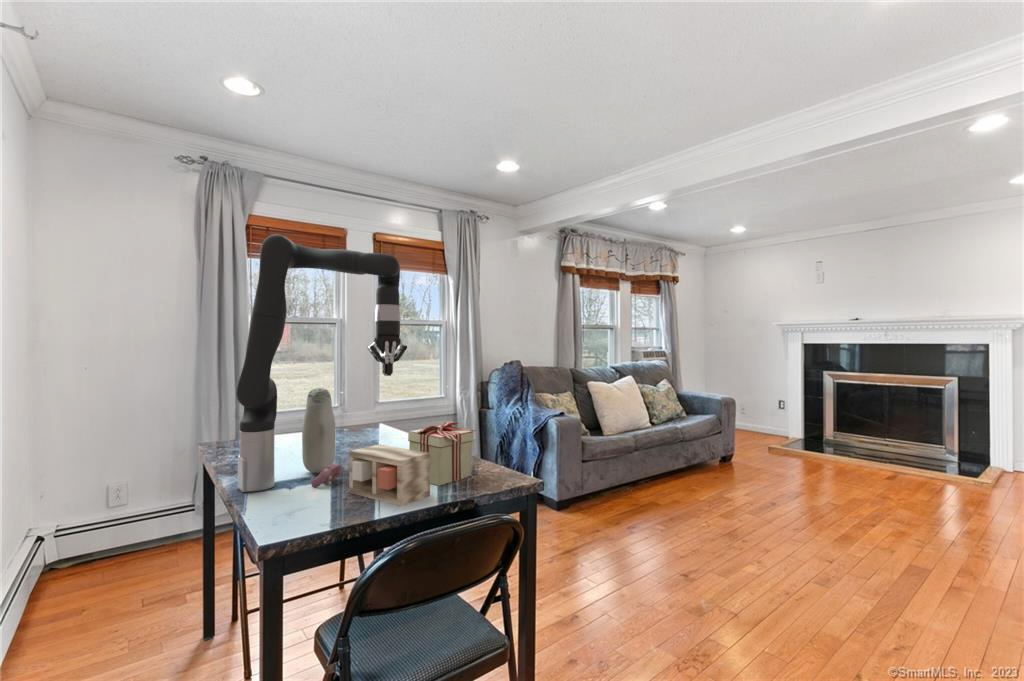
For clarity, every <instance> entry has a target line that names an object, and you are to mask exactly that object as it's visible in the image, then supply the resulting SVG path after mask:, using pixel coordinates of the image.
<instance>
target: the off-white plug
mask: <svg viewBox="0 0 1024 681" xmlns="http://www.w3.org/2000/svg"><path fill="white" fill-rule="evenodd" d="M352 479H353V480H358V481H365V480H369V479H372V461H371V460H366V459H361V460H357V461H353V462H352Z"/></svg>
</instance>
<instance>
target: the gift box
mask: <svg viewBox="0 0 1024 681" xmlns="http://www.w3.org/2000/svg"><path fill="white" fill-rule="evenodd" d="M453 425H459V422H455V421H446V422H443V423H441V425H438V426H436V425H430V426H428V427H426V428H420V429H415V430H409V431H408V435H407V437H408V438H407V441H408V442H409V446H408V447H409V448H408V449H409V450H415V451H421V452H427V453H430V483H431V484H430V485H435V486H437V485H438V487H441V485H442V486H444V484H445V485H447V484H446V483H448V484H450V483H449V482H452V483H454V482H453V481H455V482H457V481H456V480H458V481H460V480H459V479H461V478H464V477H467V476H471V477H472V451H473V450H472V448H473V447H472V446H473V441H474V432H477V429H476V430H475V429H469V428H465V427H464V428H463V427H455V426H453ZM461 480H462V479H461Z"/></svg>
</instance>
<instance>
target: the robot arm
mask: <svg viewBox="0 0 1024 681" xmlns="http://www.w3.org/2000/svg"><path fill="white" fill-rule="evenodd" d="M400 266H401V265H400V263H399V261H398V260H397V258H396V257H395V256H393V255H392V254H390V253H389V254H388V253H381V252H362V251H357V250H351V249H350V250H349V249H341V248H340V249H338V248H336V249H335V248H327V249H326V248H323V249H322V248H315V247H309V246H305V245H301V244H298V243H295V242H293V240H291V239H289V238H288V237H286V236H285V235H283V234H282V235H281V234H278V233H277V234H276V233H274V234H270V235H269V236H267V237H266V238H265V239H264V240H263V242H262V244H261V246H260V252H259V270H258V271H259V272H258V281H257V285H256V290H255V296H254V301H253V306H252V309H251V310H252V311H251V314H250V315H251V316H250V321H249V329H248V335H247V336H248V337H247V341H246V349H245V350H246V351H245V358H244V362H243V367H242V370H241V372H240V376H239V379H238V383H237V386H236V392H235V393H236V397H237V398H236V399H237V401H238V402H239V404H240V405H241V406H242V407H243V413H242V417H241V419H240V422H239V455H238V456H237V488H238V490H240V491H241V492H242V493H247V492H258V491H265V490H268V489H271V488H272V487H273V488H274V486H275V480H276V479H275V433H276V432H275V424H276V419H277V414H278V413H277V410H278V409H277V408H278V389H277V384H276V382H275V380H273V379H272V378H271V370H272V365H273V360H274V358H275V355H276V353H277V351H278V348H279V346H280V344H281V341H282V338H283V336H284V331H285V326H286V319H287V311H288V308H287V299H286V280H287V279H286V278H287V274H288V270H289V269H315V270H324V271H331V272H338V273H345V274H350V275H359V276H360V275H361V276H362V275H373V276H377V289H376V290H375V291H376V292H375V294H376V295H375V312H374V314H375V315H374V316H375V317H374V334H375V337H374V339H373V342H372V344H370V345H367V350H368V351H369V353H370V354H371V355H372V357H373V358H374V360H375V361H376V362H379V363H381V366H382V370H381V371H382V374H383V375H384V376H386V377H390V376H392V374H393V373H394V363H396V362H399V360H400V359H401V358H402V356H403V355H404V353H405V352H406V350H407V349H408V346H407V345H404V344H403V343H402V340H401V337H400V335H401V310H400V280H401V278H400V276H401V267H400Z"/></svg>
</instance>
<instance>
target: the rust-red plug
mask: <svg viewBox="0 0 1024 681" xmlns="http://www.w3.org/2000/svg"><path fill="white" fill-rule="evenodd" d="M395 487H397V466H396V465H389V466H386V467H382V468H378V488H382V489H386V490H389V489H392V488H395Z"/></svg>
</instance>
